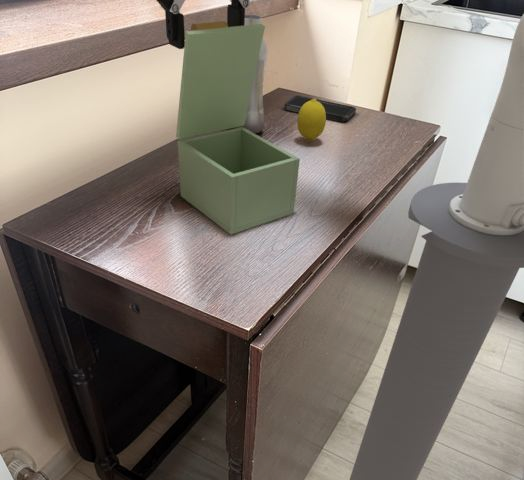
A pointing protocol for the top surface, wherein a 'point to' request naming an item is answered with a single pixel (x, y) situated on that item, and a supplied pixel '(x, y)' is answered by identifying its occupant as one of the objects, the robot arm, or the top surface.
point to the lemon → (311, 119)
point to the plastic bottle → (256, 86)
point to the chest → (237, 178)
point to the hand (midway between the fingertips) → (206, 43)
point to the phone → (331, 109)
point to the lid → (217, 77)
